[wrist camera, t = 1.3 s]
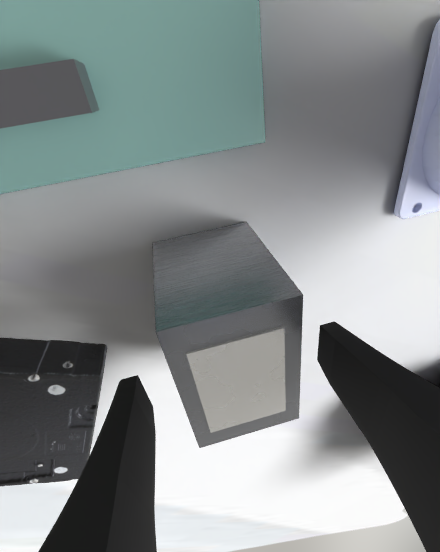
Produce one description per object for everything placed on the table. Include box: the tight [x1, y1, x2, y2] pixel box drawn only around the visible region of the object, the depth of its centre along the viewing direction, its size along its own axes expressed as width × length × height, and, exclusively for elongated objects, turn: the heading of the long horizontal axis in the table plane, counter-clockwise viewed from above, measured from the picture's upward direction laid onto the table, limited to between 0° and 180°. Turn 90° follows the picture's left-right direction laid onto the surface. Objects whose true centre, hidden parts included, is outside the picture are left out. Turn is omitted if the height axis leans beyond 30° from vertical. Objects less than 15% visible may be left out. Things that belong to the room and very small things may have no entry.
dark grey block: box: [153, 222, 303, 448], centre depth 13 cm, size 4×7×6 cm, turn 8°
